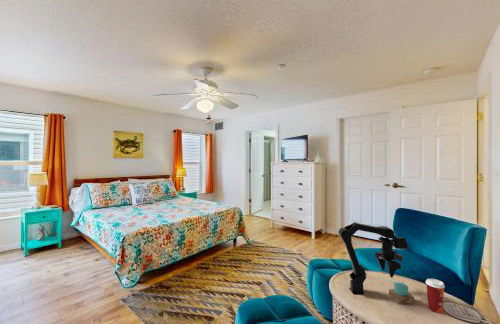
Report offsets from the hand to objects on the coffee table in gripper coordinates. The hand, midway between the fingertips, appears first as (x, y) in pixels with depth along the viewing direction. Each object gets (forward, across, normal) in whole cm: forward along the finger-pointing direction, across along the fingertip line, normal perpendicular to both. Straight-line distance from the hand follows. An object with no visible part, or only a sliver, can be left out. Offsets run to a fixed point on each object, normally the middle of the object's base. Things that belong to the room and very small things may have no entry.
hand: (387, 273), depth 143 cm
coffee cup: (+12, -16, -17) cm, 26 cm away
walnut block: (+12, -7, -4) cm, 14 cm away
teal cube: (+8, -7, -4) cm, 11 cm away
